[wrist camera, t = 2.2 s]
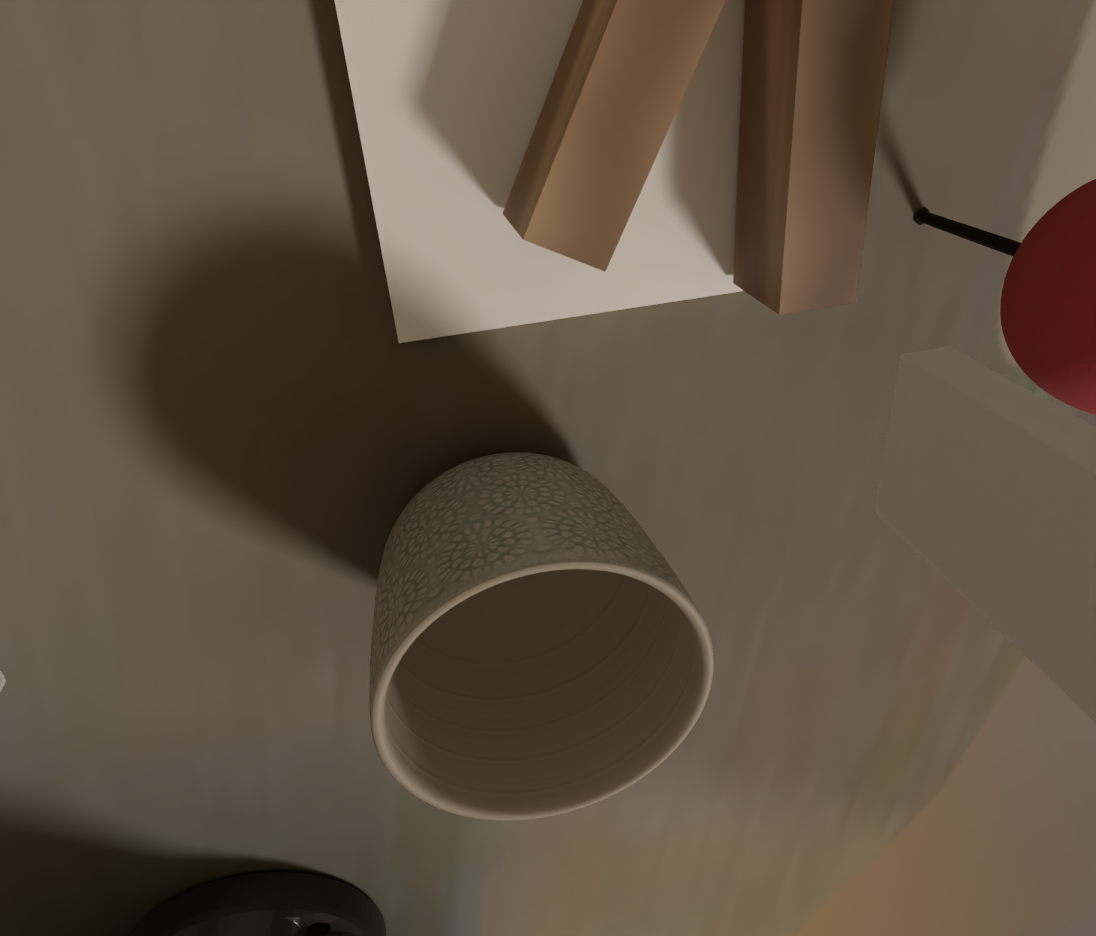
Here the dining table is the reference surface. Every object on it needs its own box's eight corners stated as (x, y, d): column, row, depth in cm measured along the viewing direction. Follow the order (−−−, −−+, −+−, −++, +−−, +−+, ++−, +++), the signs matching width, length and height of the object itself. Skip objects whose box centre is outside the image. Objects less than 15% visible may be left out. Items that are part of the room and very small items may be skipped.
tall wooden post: (711, 273, 33) (784, 324, 27) (723, -179, 25) (828, -235, 20) (791, 262, 33) (879, 309, 28) (827, -185, 26) (957, -242, 20)
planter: (312, 575, 36) (299, 767, 27) (469, 362, 32) (517, 498, 23) (524, 667, 41) (573, 853, 32) (676, 494, 38) (781, 646, 29)
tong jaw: (502, 213, 28) (537, 258, 23) (700, -311, 22) (811, -416, 17) (676, 282, 31) (744, 337, 26) (894, -168, 25) (1041, -219, 20)
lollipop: (813, 288, 34) (1088, 447, 21) (889, 99, 31) (1268, 154, 18) (952, 318, 36) (1275, 478, 24) (1037, 146, 33) (1465, 224, 20)
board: (397, 332, 31) (398, 343, 30) (300, -184, 23) (297, -194, 22) (795, 273, 34) (808, 280, 32) (835, -213, 25) (855, -223, 24)
